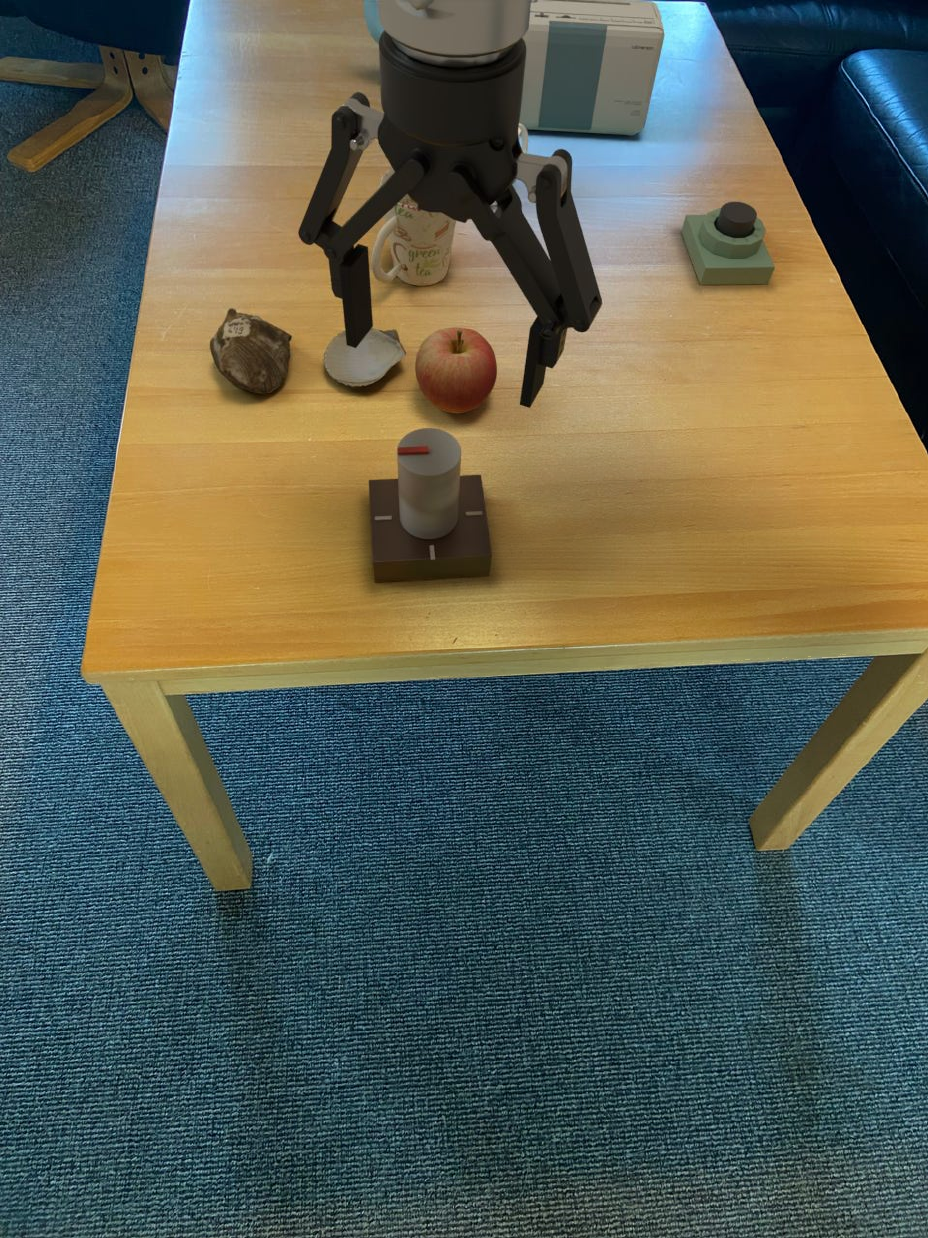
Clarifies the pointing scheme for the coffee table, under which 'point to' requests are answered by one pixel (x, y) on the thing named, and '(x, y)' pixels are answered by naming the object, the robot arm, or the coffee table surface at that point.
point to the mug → (414, 243)
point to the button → (736, 219)
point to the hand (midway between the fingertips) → (444, 364)
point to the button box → (726, 252)
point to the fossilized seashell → (251, 352)
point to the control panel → (429, 557)
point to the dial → (429, 482)
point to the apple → (456, 369)
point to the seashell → (363, 357)
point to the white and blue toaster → (590, 65)
